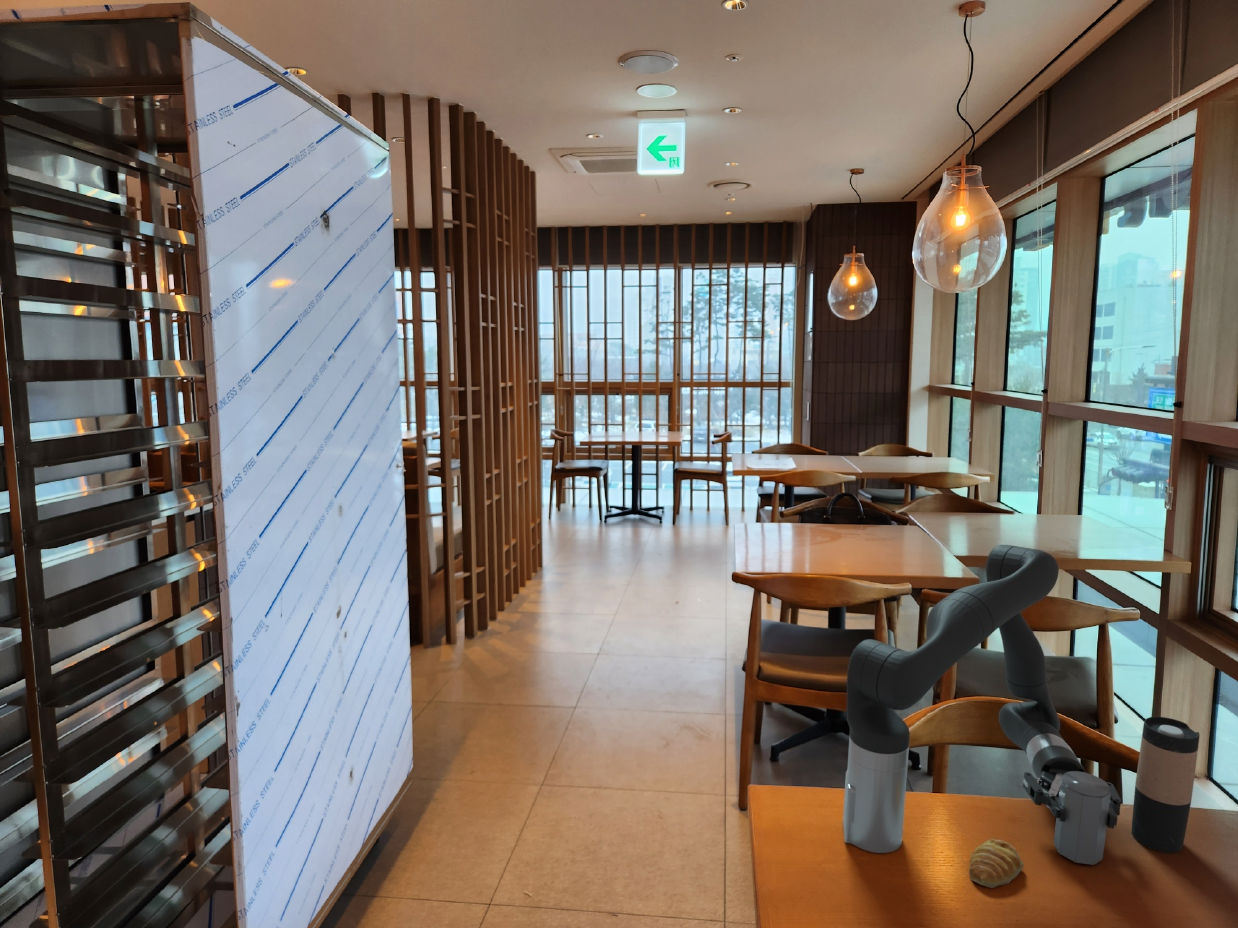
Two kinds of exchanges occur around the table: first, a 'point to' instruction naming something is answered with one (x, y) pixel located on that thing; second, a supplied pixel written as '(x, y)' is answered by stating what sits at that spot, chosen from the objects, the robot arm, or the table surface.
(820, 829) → the table surface
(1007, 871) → the pastry
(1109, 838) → the table surface
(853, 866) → the table surface
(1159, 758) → the travel mug
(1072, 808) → the canister
